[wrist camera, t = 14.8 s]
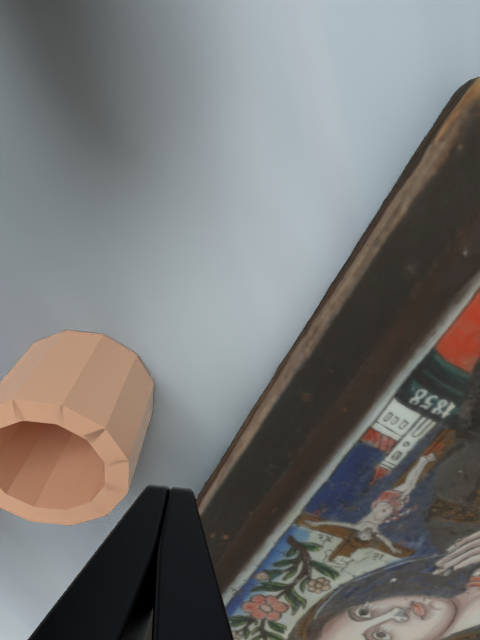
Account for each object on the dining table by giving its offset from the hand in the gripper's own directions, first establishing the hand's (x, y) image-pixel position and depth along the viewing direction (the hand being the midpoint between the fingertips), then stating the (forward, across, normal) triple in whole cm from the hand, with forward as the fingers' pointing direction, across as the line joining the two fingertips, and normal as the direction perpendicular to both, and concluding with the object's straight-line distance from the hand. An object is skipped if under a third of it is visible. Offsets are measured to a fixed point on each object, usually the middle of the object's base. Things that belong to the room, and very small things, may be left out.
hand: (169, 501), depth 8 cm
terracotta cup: (+13, +6, +8) cm, 16 cm away
